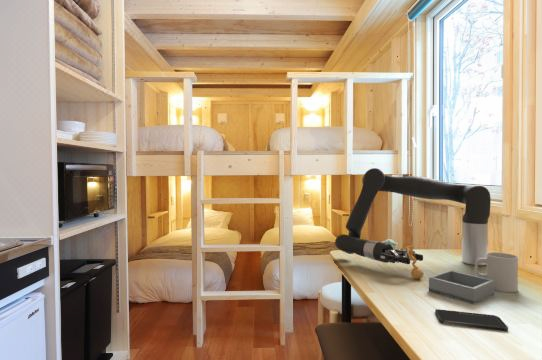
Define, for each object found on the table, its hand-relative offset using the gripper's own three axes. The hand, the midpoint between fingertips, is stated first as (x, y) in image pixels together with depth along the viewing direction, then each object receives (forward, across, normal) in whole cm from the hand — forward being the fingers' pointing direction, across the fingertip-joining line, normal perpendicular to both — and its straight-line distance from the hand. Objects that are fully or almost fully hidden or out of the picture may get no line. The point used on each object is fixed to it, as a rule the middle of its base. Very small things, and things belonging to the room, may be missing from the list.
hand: (416, 259), depth 119 cm
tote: (+16, -1, +7) cm, 18 cm away
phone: (+27, -21, +8) cm, 35 cm away
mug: (+20, +14, +7) cm, 25 cm away
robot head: (-30, +27, +7) cm, 41 cm away
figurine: (-1, 0, +7) cm, 7 cm away
